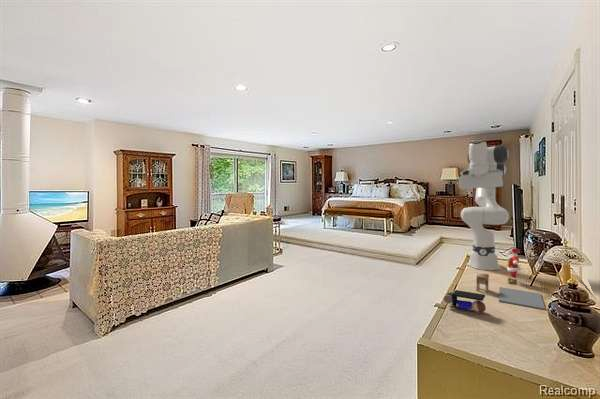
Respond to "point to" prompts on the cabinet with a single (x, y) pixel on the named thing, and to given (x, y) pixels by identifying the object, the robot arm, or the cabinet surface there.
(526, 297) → the mat
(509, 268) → the santa figurine
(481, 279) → the stool
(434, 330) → the cabinet surface
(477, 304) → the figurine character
